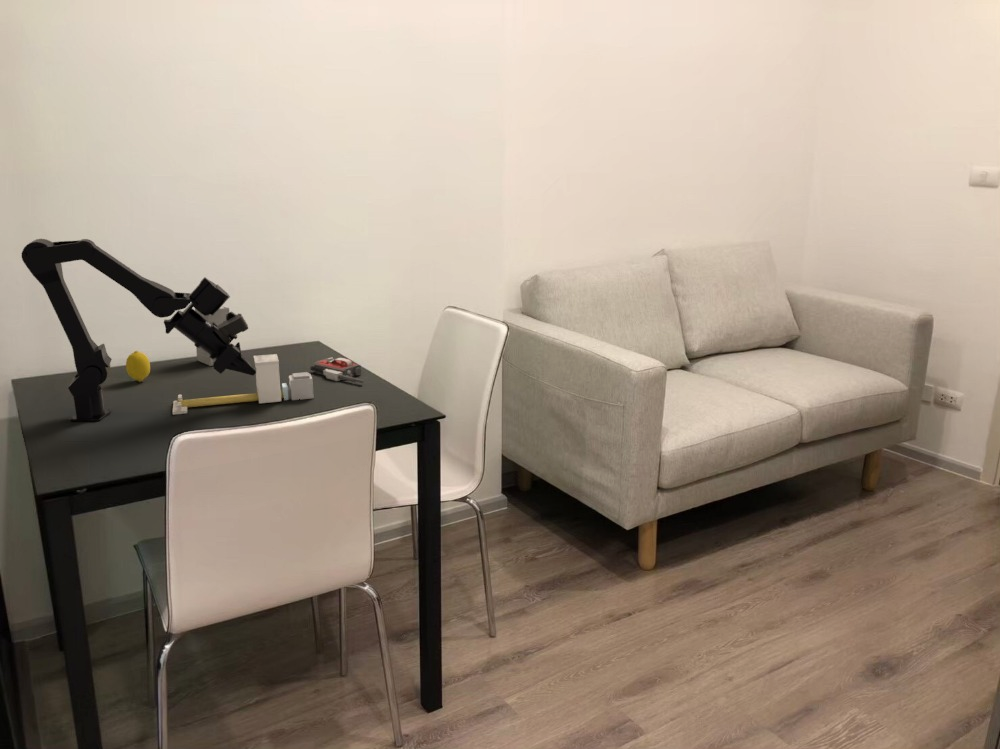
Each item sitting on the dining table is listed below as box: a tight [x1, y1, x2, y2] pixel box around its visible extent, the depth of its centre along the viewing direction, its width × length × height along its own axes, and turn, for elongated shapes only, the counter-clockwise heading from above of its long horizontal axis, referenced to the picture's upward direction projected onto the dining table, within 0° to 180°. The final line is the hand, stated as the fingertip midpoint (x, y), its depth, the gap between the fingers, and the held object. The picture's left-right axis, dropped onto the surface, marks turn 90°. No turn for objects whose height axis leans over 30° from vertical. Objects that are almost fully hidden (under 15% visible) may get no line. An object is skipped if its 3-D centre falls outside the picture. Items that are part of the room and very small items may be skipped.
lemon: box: [125, 350, 151, 383], centre depth 208 cm, size 6×6×8 cm
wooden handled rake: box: [172, 390, 284, 415], centre depth 192 cm, size 26×8×2 cm, turn 109°
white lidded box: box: [253, 353, 282, 404], centre depth 194 cm, size 5×7×10 cm
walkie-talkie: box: [309, 356, 365, 384], centre depth 214 cm, size 9×4×20 cm
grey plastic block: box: [281, 371, 315, 401], centre depth 196 cm, size 7×4×5 cm, turn 109°
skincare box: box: [194, 304, 230, 367], centre depth 226 cm, size 8×7×16 cm
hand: (254, 373), depth 193 cm, fingers closed, pressing on white lidded box
